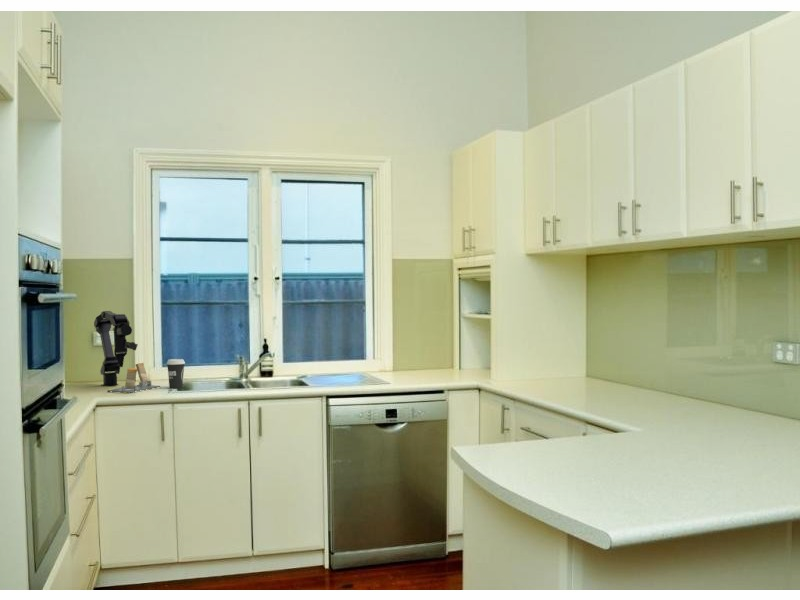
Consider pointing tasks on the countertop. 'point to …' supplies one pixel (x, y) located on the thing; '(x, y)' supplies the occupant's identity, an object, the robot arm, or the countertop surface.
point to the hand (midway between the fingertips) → (121, 367)
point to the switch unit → (135, 387)
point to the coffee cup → (175, 373)
